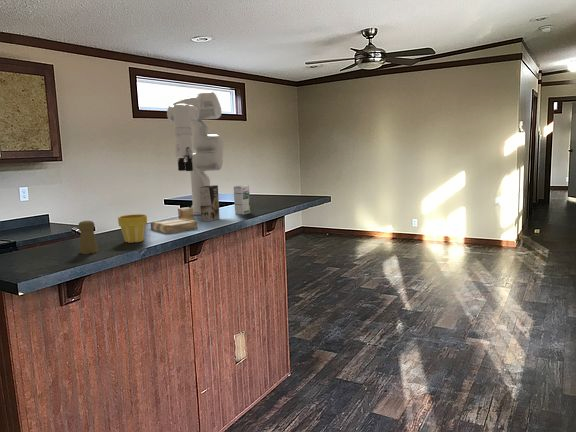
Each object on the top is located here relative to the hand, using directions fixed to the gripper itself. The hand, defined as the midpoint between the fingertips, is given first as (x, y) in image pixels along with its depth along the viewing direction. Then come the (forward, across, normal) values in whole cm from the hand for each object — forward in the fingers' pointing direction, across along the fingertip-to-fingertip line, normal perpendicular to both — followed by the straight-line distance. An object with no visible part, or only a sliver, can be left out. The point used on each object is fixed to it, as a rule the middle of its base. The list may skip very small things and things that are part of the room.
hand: (185, 170), depth 216 cm
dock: (+24, +8, -10) cm, 28 cm away
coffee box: (+24, -4, +13) cm, 28 cm away
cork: (+26, +33, -48) cm, 64 cm away
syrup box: (+24, -11, +33) cm, 42 cm away
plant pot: (+25, +24, -30) cm, 46 cm away
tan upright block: (+24, -2, 0) cm, 24 cm away
